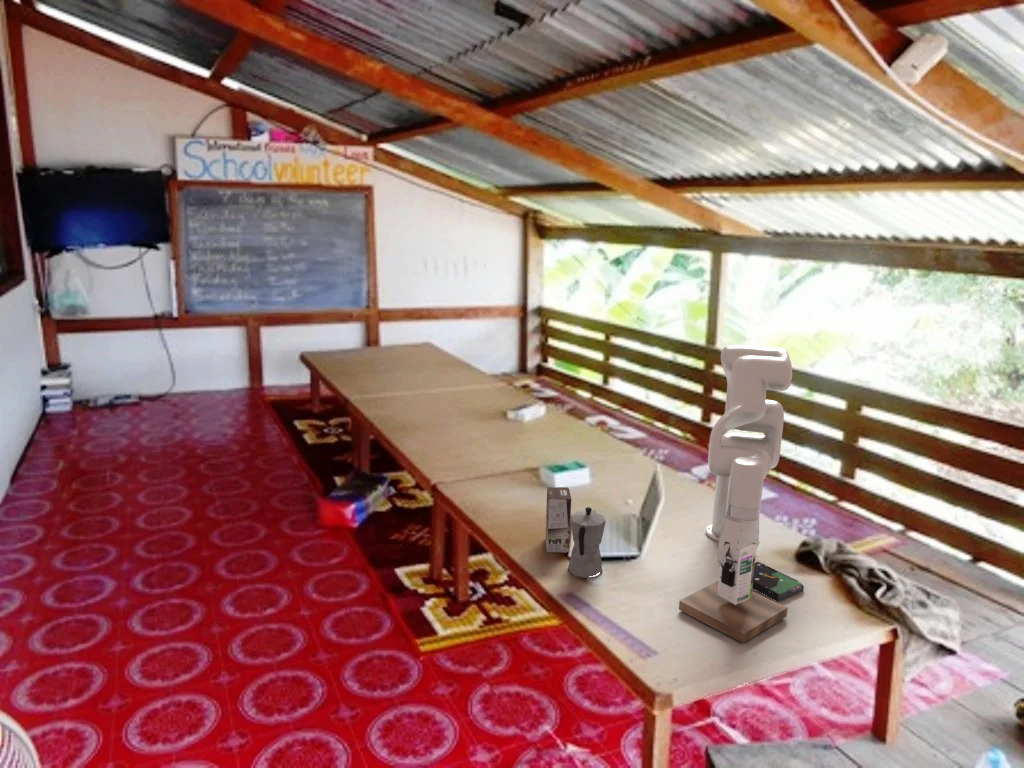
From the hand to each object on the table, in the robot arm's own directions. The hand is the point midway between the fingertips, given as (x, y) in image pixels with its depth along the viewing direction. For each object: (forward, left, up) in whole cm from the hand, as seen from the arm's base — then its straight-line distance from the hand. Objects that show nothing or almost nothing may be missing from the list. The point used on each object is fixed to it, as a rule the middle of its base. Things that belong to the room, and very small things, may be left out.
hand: (735, 579), depth 184 cm
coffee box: (+8, -53, -10) cm, 54 cm away
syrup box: (0, 0, -5) cm, 5 cm away
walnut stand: (0, 0, -9) cm, 9 cm away
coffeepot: (+13, -37, -10) cm, 40 cm away
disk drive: (-20, -3, -10) cm, 23 cm away
